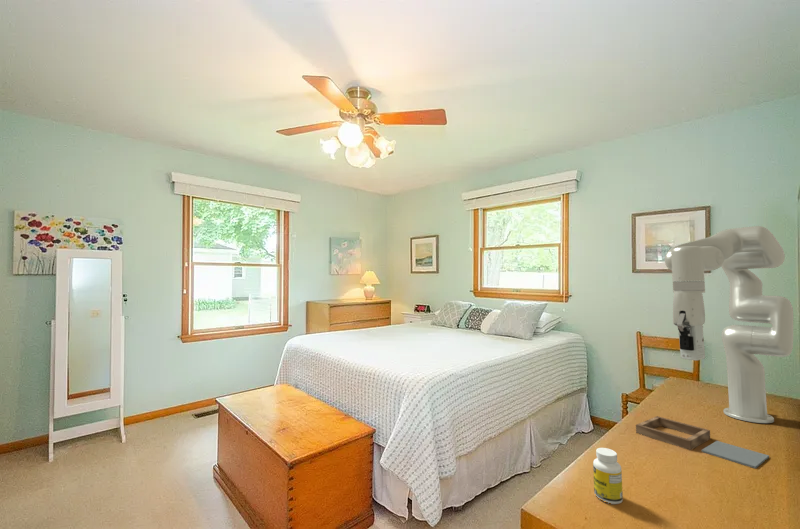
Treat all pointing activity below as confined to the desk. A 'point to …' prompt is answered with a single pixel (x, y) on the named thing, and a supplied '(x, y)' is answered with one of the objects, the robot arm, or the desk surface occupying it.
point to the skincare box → (695, 345)
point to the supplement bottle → (607, 476)
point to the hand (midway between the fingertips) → (691, 348)
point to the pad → (736, 454)
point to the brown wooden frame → (689, 443)
